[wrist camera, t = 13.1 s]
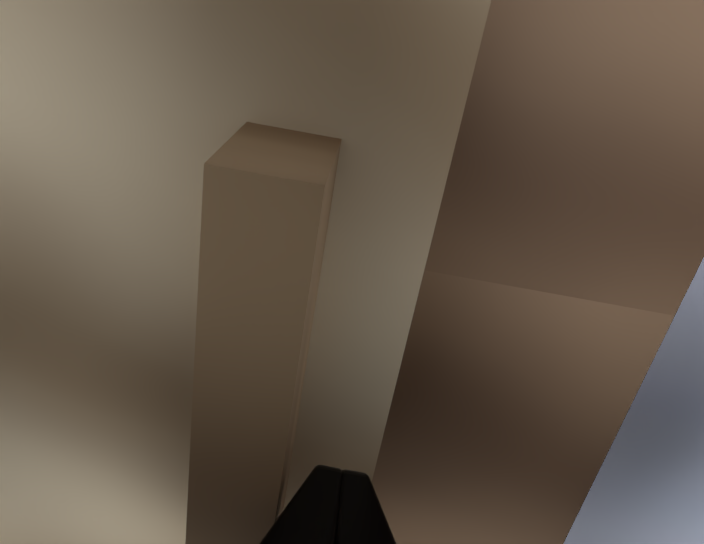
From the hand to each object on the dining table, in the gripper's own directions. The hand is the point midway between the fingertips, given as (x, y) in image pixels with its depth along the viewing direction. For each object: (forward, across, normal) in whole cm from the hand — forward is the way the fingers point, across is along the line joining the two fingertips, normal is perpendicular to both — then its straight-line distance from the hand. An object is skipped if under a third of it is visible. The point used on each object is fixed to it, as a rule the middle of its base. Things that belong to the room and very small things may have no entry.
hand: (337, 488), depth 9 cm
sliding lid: (+2, +4, 0) cm, 4 cm away
